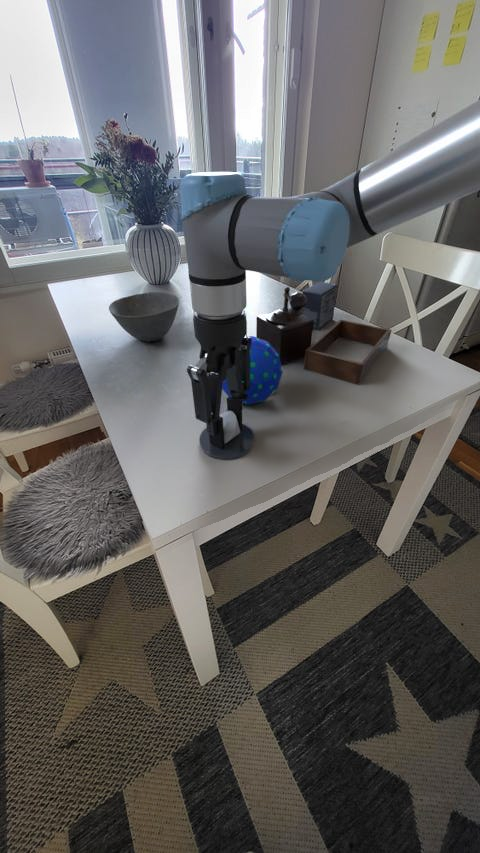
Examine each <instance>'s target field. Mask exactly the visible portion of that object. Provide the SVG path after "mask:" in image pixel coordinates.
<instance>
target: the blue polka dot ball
mask: <svg viewBox="0 0 480 853" xmlns="http://www.w3.org/2000/svg"><path fill="white" fill-rule="evenodd" d="M248 337H250V338H252V343H251V349H250V389H249V391H245V392H244V393H245V394H247V395H248V399H247V400H246V401H245V400H243V399H242V404H243V405H252V404H257V403H261V402H265V401H266V400H267V399H268V398H269V397H270V396H271V395H272V394H273V393H274V392H275V391H276V390H278V388H279V385H280V382H281V378H282V375H283V367H282V364H281V362H280V357H279V355H278V353H277V352H276V351H275V350H274V348H273V347H272V346H271V345H270V344H269V342H267V341H264V340H261V339H259V338H256V336H253V335H251V336H248ZM242 382H243V383H244V381H242ZM222 391H223V392H224V393H225V394H226V395H227V397H229V396H230V397H232V395H230V393H229V390H228V386H227V382H226V380H224V381H223V385H222Z"/></svg>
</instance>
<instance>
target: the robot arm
mask: <svg viewBox="0 0 480 853" xmlns="http://www.w3.org/2000/svg"><path fill="white" fill-rule="evenodd" d="M179 190H180V210H181V212H180V213H181V215H180V221H181V225H182V231H183V232H182V233H183V239H184V245H185V246H184V247H185V251H186V252H185V253H186V261H187V263H186V264H187V270H188V271H187V272H188V281H189V289H190V299H191V308H192V310H193V311H194V312H193V313H192V322H193V333H194V337H195V339H196V340H197V341H198V343H199V346H200V351H199V355H198V356H199V360H198V362H197V363H196V364H194V365H191V364H189V365H188V366H187V368H186V372H187V375H188V376H189V379H190V382H191V383H190V384H191V390H192V400H193V409H194V415H195V419H196V420H198V421H200V422H202V423H204V424H206V425H205V426H206V428H207V432H208V434H209V439H210V444H212V445H214V446H216V447H219V448H221V449H223V448H224V447H225V444H224V428H223V417H221V416H220V415H221V414H220V412H221V404H222V394H223V389H222V385H223V381H224V380H226V382H227V386H228V390H229V393H230V395H232V397H230V396H227V397H226V411H232V412H234V414H235V415H236V417H237V421H238V425H239V429H240V431H242V424H243V410H244V408H243V403H242V399H243V400H245V401H246V400H247V399H248V395H247V394H245V393H244V392H245V391H249V389H250V349H251V343H252V338H250V337H249V336H247V312H246V310H245V309H246V308H247V275H246V274H247V271H249V272H254V273H255V272H256V273H260V274H261V273H262V274H266V275H271V276H276V277H283V278H288V279H291V280H295V281H298V282H302V281H303V282H304V281H311V282H325V281H328V280H330V279H331V278H333V277H334V276H335V274H337V271H338V269H339V267H340V266H341V265H342V263H343V261H344V258H345V254H346V251H347V249H348V248H350V247H352V246H354V245H357V244H360V243H361V242H363V241H366V240H369V239H371V238H373V237H375V236H377V235H379V234H381V233H383V232H386V231H388V230H391V229H393V228H395V227H398V226H400V225H402V224H404V223H406V222H409V221H411V220H414V219H416V218H419V217H420V216H423V215H425V214H427V213H429V212H432V211H435V210H436V209H438V208H439V209H440V208H441V207H443V206H446V205H448V204H450V203H452V202H456V201H458V200H460V199H462V198H465V197H466V196H469V195H471V194H474V193H476V192H478V191H480V99H478V100H476V101H475V102H473V103H471V104H469V105H468V106H466V107H464V108H463V109H461V110H459V111H458V112H456V113H454V114H453V115H450V116H449V117H448V118H445V119H444V120H442V121H441V122H439V123H437V124H435V125H433V126H432V127H430V128H429V129H427V130H425V131H423V132H421V133H420V134H418V135H417V136H415V137H413V138H411V139H410V140H407V141H406V142H405V143H403V144H401V145H399V146H398V147H395V148H394V149H393V150H391V151H389V152H388V153H386V154H384V155H382V156H381V157H379V158H377V159H375V160H373V161H371V162H370V163H369V164H367V165H365V166H363V167H362V168H360V169H358V170H357V171H355V172H353V173H350V174H349V175H347V176H346V177H344V178H342V179H341V180H339V181H337V182H335V183H334V184H332V185H330V186H328V187H326V188H324V189H320V190H316V191H312V192H308V193H303V194H299V195H294V196H285V197H284V196H283V197H281V196H256V195H251V194H248V193H247V192H248V190H247V186H246V180H245V176H244V175H243V174H242V173H240V172H233V171H207V172H206V171H205V172H194V173H187V174H186V175H185V176H183V178H182V179H181V181H180V187H179ZM242 381H244V383H243V382H242Z"/></svg>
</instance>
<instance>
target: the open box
mask: <svg viewBox="0 0 480 853" xmlns="http://www.w3.org/2000/svg"><path fill="white" fill-rule="evenodd" d="M391 334H392V329H390V328H385V327H380V326H375V325H370V324H365V323H361V322H356V321H352V320H351V321H350V320H345V319H339V320H338V321H337V322H335V324H333V325H332V326H331V327H330V328H329V329H327V331H326V332H324V333H323V334H321V336H320V337H319V338H317V339H316V340H315V341H313V343H311V346H310V347H309V348H307V349H306V350H305V357H304V362H303V370H305V371H307V372H308V371H309V372H313V373H315V374H319V375H323V376H325V377H329V378H332V379H333V378H334V379H337V380H339V381H344V382H347V383H350V384H354V385H358V386H359V385H360V384H361V383H362V381H363V380H364V379H365V377H366V376H367V375H368V373H369V372H370V371H371V369H372V368H373V367H374V366H375V364H376V363H377V361H378V360H380V358H381V357H382V355H383V353H384V352H385V351H386V350H387V349H388V345H389V341H390V338H391ZM339 339H341V340H346V341H350V342H353V343H357V344H363V345H367V346H371V347H373V348H371V350H370V351H369V352H368V353H367V355H366V356H365V357H364V358H363V360H362V361H361V362H360V361H355V360H352V359H348V358H344V357H340V356H336V355H333V354H329V353H326V352H327V350H329V349H330V348H331V347H332V346H333V345H334V344H335V343H336V342H337V341H339Z"/></svg>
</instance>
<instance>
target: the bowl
mask: <svg viewBox="0 0 480 853" xmlns="http://www.w3.org/2000/svg"><path fill="white" fill-rule="evenodd" d="M179 305H180V298H179V297H178V296H177V295H175V294H173V293H169V292H162V291H161V292H160V291H151V292H143V293H137V294H132V295H128V296H124V297H121V298H118V299H116V300H113V301H112V302H111V303H110V304H109V306H108V311H109V313H110V314H111V316H112V317H113V318H114V320H115V321H116V322H117V323H118V324H119V326H120V327H121V328H122V329H123V330H124V331H125V332H126V333H127V334H129V335H130V336H131V337H133V338H135V339H136V340H139V341H142V342H156V341H158V340H161V339H162V338H164V337H165V336H166V335H167V334H168V332H169V331H170V330H171V328H172V326H173V324H174V321H175V320H176V316H177V312H178V309H179Z"/></svg>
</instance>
